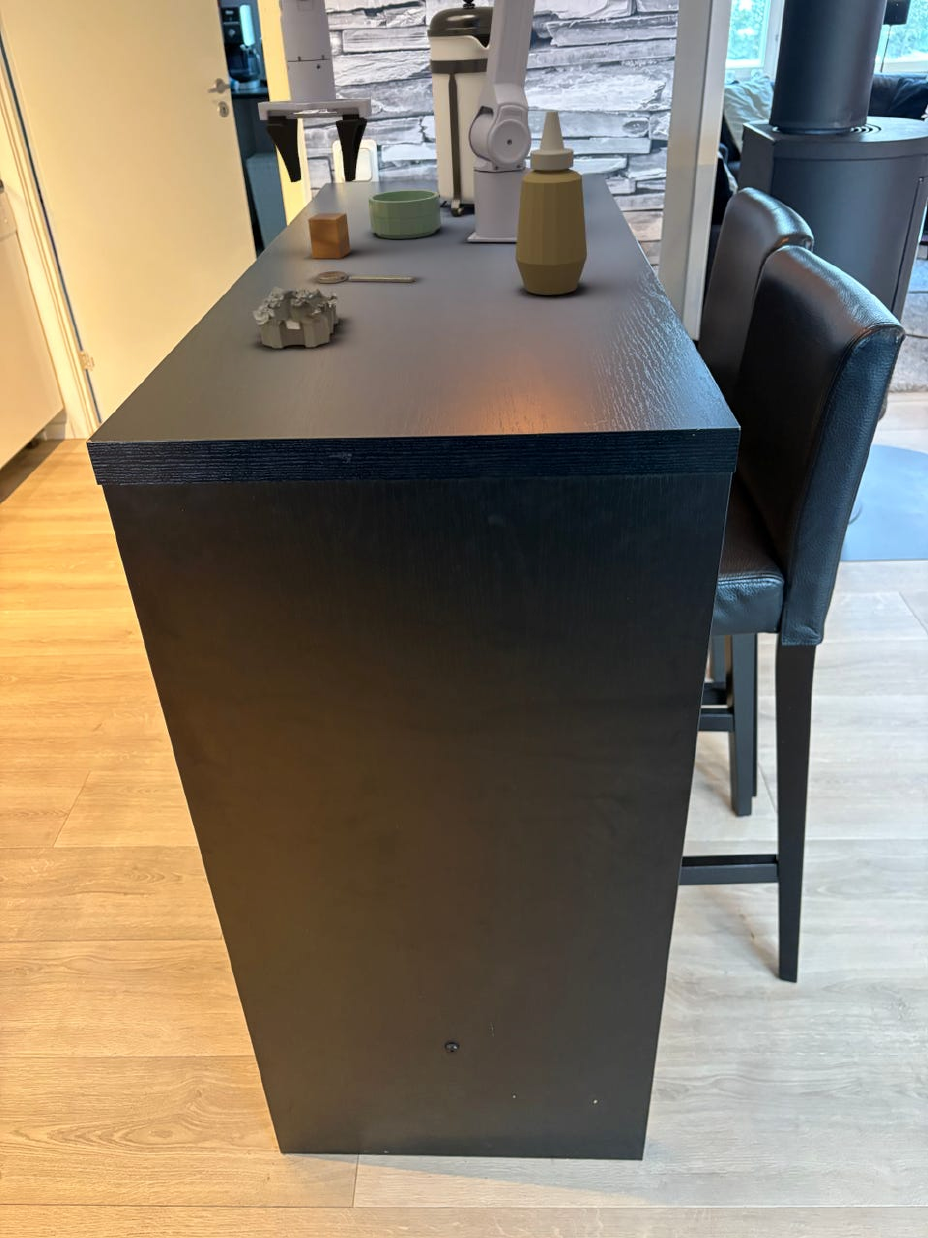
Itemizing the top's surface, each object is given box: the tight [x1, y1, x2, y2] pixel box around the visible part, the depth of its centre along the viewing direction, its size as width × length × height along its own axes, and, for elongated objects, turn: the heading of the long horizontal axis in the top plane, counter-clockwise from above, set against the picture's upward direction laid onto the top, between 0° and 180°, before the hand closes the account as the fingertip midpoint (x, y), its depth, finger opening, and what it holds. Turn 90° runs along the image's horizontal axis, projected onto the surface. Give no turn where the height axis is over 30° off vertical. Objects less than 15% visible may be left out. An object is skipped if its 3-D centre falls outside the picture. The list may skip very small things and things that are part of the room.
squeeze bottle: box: [515, 110, 588, 296], centre depth 102 cm, size 8×8×18 cm
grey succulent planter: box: [252, 286, 339, 349], centre depth 95 cm, size 11×8×4 cm
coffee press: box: [426, 0, 494, 217], centre depth 144 cm, size 17×16×30 cm
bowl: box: [368, 189, 442, 240], centre depth 136 cm, size 10×10×5 cm
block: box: [307, 212, 352, 260], centre depth 126 cm, size 4×4×5 cm
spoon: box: [316, 270, 415, 284], centre depth 114 cm, size 12×4×1 cm, turn 76°
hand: (323, 180), depth 122 cm, fingers open, 7 cm apart
